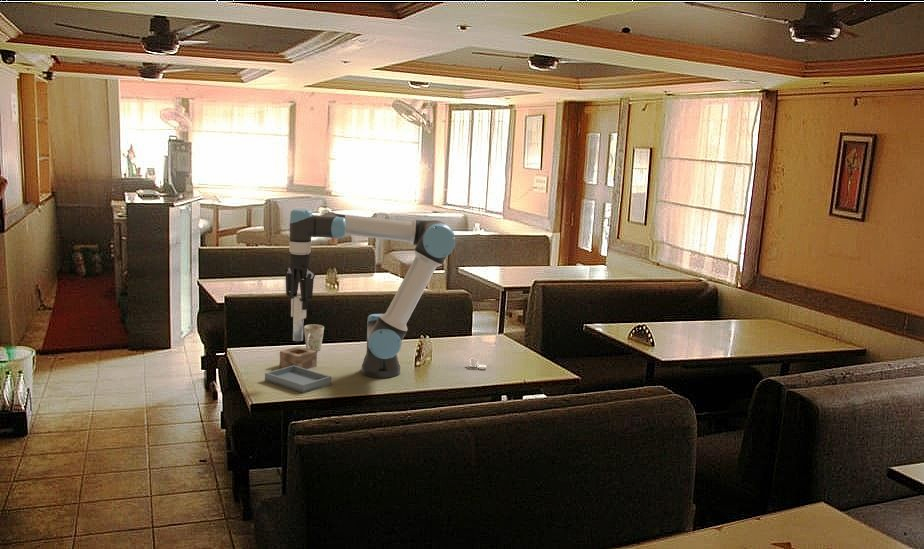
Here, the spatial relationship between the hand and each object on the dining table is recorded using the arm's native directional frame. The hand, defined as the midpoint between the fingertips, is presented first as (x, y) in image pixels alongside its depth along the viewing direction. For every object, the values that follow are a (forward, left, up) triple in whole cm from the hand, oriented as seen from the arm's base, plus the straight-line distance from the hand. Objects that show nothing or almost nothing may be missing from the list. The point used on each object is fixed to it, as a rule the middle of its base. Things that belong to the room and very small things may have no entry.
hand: (298, 317), depth 274 cm
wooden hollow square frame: (+15, -14, -25) cm, 32 cm away
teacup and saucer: (-37, -61, -25) cm, 76 cm away
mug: (+27, -33, -25) cm, 49 cm away
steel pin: (0, 0, -9) cm, 9 cm away
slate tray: (0, 0, -25) cm, 25 cm away
